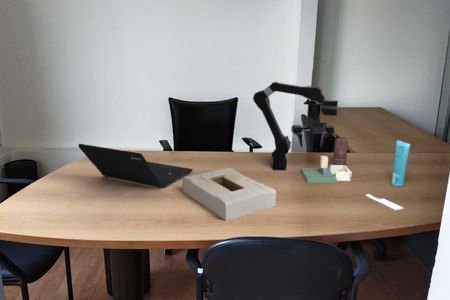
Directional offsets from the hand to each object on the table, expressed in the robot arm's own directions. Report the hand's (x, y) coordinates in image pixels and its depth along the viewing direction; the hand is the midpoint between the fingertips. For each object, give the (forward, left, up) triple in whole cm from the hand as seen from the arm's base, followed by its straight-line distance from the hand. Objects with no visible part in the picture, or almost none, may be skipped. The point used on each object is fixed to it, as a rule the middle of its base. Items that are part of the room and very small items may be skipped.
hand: (311, 147), depth 180 cm
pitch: (+2, -7, -12) cm, 14 cm away
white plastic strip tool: (+22, -34, -13) cm, 43 cm away
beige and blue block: (+5, -7, -10) cm, 13 cm away
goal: (+12, -7, -12) cm, 19 cm away
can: (+17, +9, -12) cm, 23 cm away
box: (-40, -32, -13) cm, 53 cm away
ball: (+13, -7, -10) cm, 18 cm away
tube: (+35, -16, -12) cm, 40 cm away
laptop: (-78, -11, -13) cm, 80 cm away
